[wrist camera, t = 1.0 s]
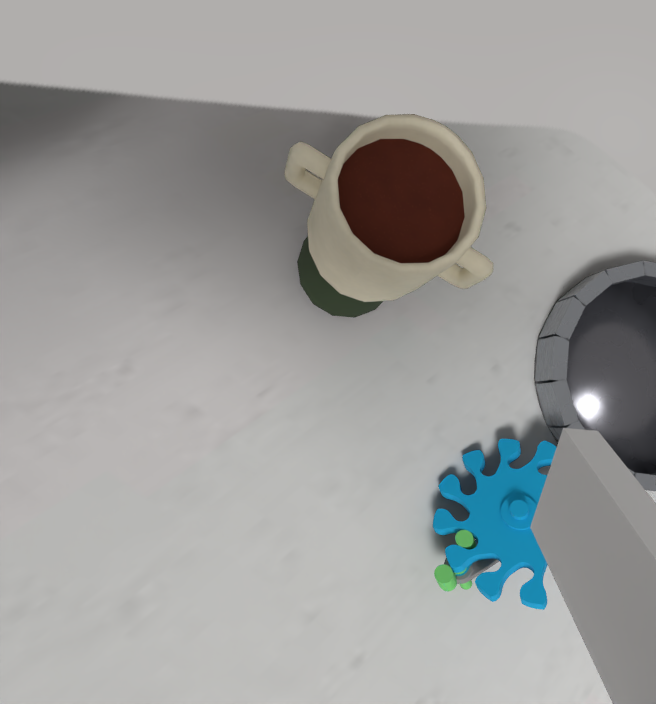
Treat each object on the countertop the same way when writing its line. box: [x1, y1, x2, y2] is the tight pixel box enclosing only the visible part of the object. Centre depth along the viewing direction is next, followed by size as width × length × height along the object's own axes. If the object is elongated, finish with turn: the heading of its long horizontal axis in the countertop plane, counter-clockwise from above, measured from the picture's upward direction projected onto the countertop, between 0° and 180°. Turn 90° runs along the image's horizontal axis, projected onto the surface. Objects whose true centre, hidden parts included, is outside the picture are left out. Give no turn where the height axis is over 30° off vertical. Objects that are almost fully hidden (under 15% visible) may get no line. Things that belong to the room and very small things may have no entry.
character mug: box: [284, 114, 493, 317], centre depth 30 cm, size 11×7×13 cm, turn 61°
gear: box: [433, 439, 557, 609], centre depth 34 cm, size 11×6×10 cm
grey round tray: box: [535, 261, 656, 491], centre depth 38 cm, size 15×15×2 cm
